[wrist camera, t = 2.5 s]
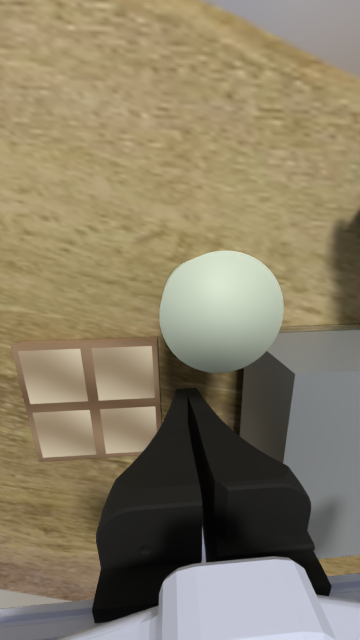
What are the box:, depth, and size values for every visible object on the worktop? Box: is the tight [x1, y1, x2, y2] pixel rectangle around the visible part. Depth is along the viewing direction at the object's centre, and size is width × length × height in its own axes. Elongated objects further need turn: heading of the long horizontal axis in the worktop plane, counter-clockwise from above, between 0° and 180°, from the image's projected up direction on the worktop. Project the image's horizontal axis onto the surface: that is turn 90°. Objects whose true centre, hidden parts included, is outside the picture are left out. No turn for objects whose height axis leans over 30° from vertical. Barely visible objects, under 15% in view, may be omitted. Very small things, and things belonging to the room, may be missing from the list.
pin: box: [160, 251, 284, 373], centre depth 9 cm, size 4×4×7 cm
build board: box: [11, 337, 162, 462], centre depth 14 cm, size 9×9×1 cm
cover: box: [240, 330, 360, 559], centre depth 11 cm, size 11×11×5 cm
